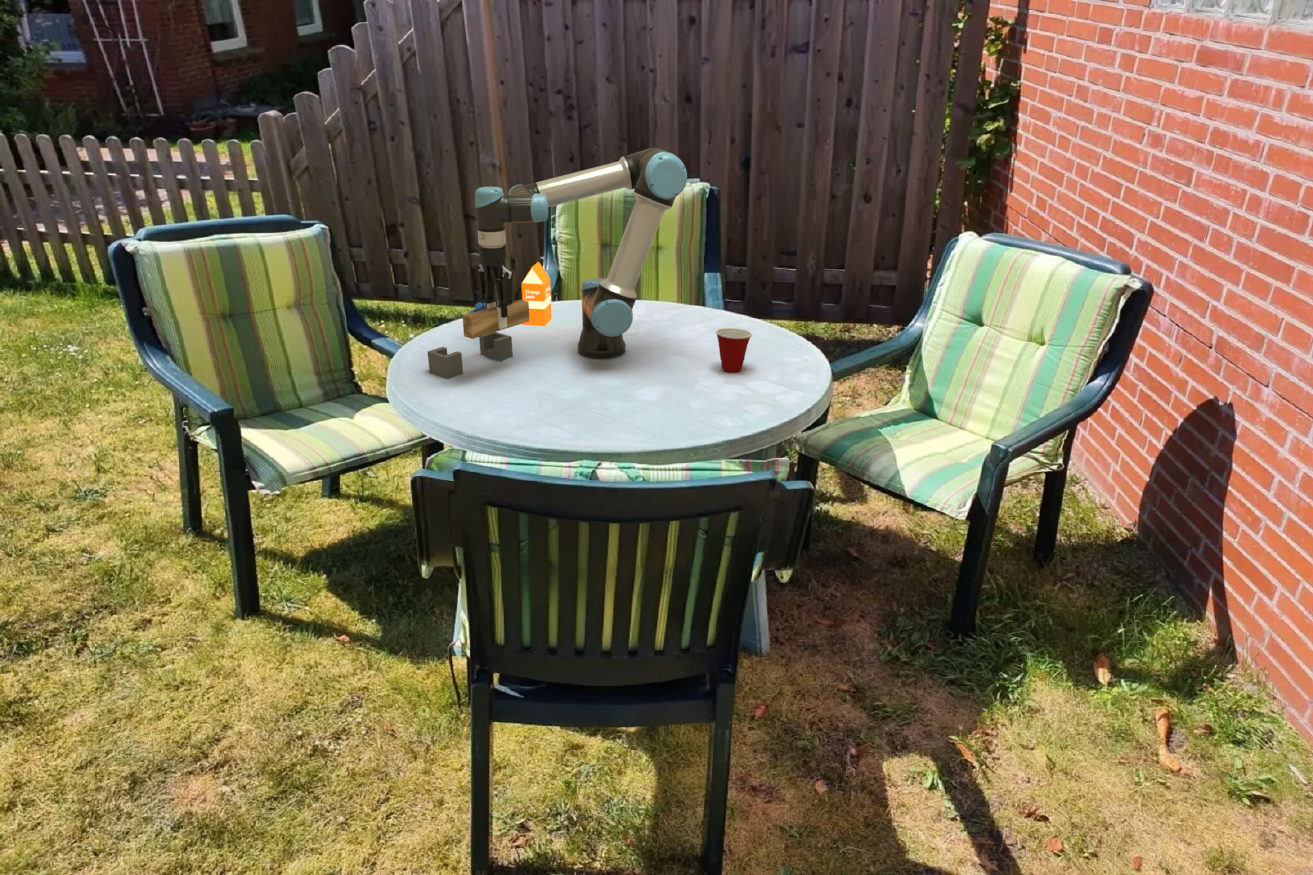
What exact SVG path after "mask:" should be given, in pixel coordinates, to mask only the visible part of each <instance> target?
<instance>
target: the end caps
mask: <svg viewBox="0 0 1313 875" xmlns="http://www.w3.org/2000/svg"><path fill="white" fill-rule="evenodd" d="M478 338H479V350H480V351H479V352H480V356H481V355H483V356H482V357H484V356H485V358H488V359H490V360H493V359H494V360H493V361H496V362H501V360H502V361H503V360H507V359H510V358H513V356H514V355H513V341H512V340H513V339H512V336H511V335H507V334H504V333H501V332H499V331H497V332H493V333H490V334H487V335H484V336H480V337H478ZM427 359H428V368H429V369H428V371H429V373H431V374H434V375H436V376H439V377H442V378H444V379H448V380H449V379H451V378H454V377H457V376H461V375H464V367H463V354H462V352H460V351H454V352H450V353H448V348H447V347H445V346H440V347H438V348H433V349H430V350H428V351H427Z"/></svg>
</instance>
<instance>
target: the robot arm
mask: <svg viewBox="0 0 1313 875" xmlns="http://www.w3.org/2000/svg"><path fill="white" fill-rule="evenodd" d="M687 182H688V172H687V169H686V166H685V164H684V163H683V161H682V160H681V159H680V158H679V157H678V156H677V155H676V154H674V153H672V152H668V151H667V150H665V149H662V148H659V147H651V148H647V149H643V150H640V151H637V152H634V153H630V154H628V155H624V156H621V157H620V159H619V160H618V161H614V162H611V163H608V164H603V165H599V166H595V167H592V168H588V169H584V170H580V171H576V172H571V173H568V174H563V175H560V176H557V177H556V176H555V177H552V178H547V179H545V180H541V181H537V182H533V183H529V184H515V185H513V186H512V187H511V188H510V189H509V190H508V194H504V190H503V188H501V187H498V186H482V187H478V188H477V189H476V190H475V192H474V195H475V196H474V197H475V198H474V200H475V215H476V227H477V239H478V240H477V241H478V245H479V246H478V253H479V254H478V255H479V256H478V257H479V260H480V261H481V264H477V265H475V266H474V269H475V272H476V277H477V283H478V291H479V292H478V294H479V299H480V300H481V301H484V302H485V303H486V309H488V308H492V307H495V306H496V305H497V302H496V299H495V291H496V296H497V301H498V305H497V312H498V326H499V329H503V328H506V327H507V316H508V314H507V313H508V312H507V306H508V305H511V304H512V303H513V279H514V278H513V277H514V271H513V270H509V269H508V268H507V265H506V259H507V257H508V255H507V251H508V250H507V246H506V244H507V236H506V224H511V223H535V224H536V223H541V222H546V221H548V218H549V208H551V207H554V206H559V205H563V204H566V203H569V202H570V203H571V202H574V201H578V200H581V199H587V198H589V197H593V196H598V195H601V194H606V193H608V192H613V191H616V190H620V189H627V190H628V191H631V190H633V195H634V197H635V201H634V206H633V207H632V210H631V214H630V215H629V219H628V222H627V223H626V226H625V228H624V232H623V234H622V237H621V240H620V243H619V245H618V248H617V251H616V253H615V256H614V259H613V262H612V263H611V267H610V270H609V271H608V275H607V277H606V278H605V277H604V278H603V277H602V278H598V277H597V278H590V279H586V280H585V279H584V281H582V283H581V289H580V293H581V313H582V314H581V316H582V320H581V321H582V328H581V332H580V336H579V339H578V342H577V353H578V355H579V356H581V357H585V358H588V359H595V360H608V359H614V358H619V357H621V356H623V355H624V354H626V352H627V351H626V350H627V349H626V347H627V346H626V344H627V343H626V342H625V340H624V336H623V334H624V333H627V331H628V330H629V329H630V328H631V326H632V324H633V320H634V318H633V317H634V313H633V308H634V306H635V303H636V300H637V298H638V295H637V293H636V291H635V289H636V286H637V283H638V280H639V278H640V275H641V273H642V272H643V268H644V265H645V263H646V260H647V258H648V255H649V253H650V250H651V249H652V248H651V247H652V244H653V242H654V240H655V236H656V234H657V231H658V229H659V227H660V224H661V222H662V219H663V216H664V213H665V212H666V211H668V210H671V209H672V208H673V205H674V204H675V200H676V198H677V197H678V196H679V195H681V193H682V192H683V190H684V189H685V187H686V185H687ZM506 329H507V328H506ZM503 330H504V329H503Z"/></svg>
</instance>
